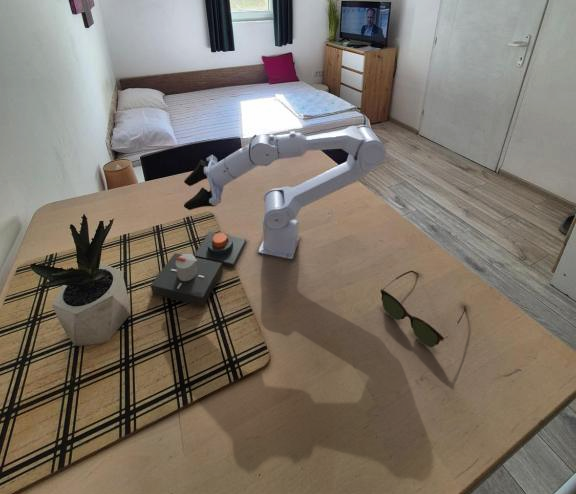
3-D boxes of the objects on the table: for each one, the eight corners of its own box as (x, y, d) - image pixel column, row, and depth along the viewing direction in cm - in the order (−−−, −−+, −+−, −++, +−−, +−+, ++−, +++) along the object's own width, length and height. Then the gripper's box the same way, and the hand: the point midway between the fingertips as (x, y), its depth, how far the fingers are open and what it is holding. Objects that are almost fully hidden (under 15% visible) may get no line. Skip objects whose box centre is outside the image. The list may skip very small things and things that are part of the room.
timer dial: (200, 268, 78) (198, 254, 76) (191, 283, 74) (189, 269, 72) (184, 264, 79) (181, 251, 77) (174, 279, 75) (171, 265, 73)
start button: (229, 239, 88) (228, 234, 87) (223, 249, 84) (223, 243, 84) (216, 237, 88) (216, 232, 88) (211, 246, 85) (210, 241, 84)
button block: (246, 242, 90) (245, 233, 89) (233, 267, 82) (232, 258, 81) (209, 235, 93) (208, 226, 91) (194, 258, 85) (192, 250, 83)
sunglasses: (376, 304, 73) (380, 287, 71) (411, 274, 82) (415, 258, 80) (438, 356, 63) (444, 338, 61) (470, 315, 72) (476, 298, 70)
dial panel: (222, 271, 81) (221, 262, 80) (203, 307, 72) (202, 297, 71) (176, 261, 84) (174, 252, 82) (152, 294, 75) (150, 284, 74)
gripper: (218, 139, 81) (176, 166, 84) (223, 182, 70) (174, 211, 73) (235, 154, 86) (194, 179, 88) (242, 197, 75) (195, 224, 77)
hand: (186, 195), depth 81 cm, fingers open, 7 cm apart
